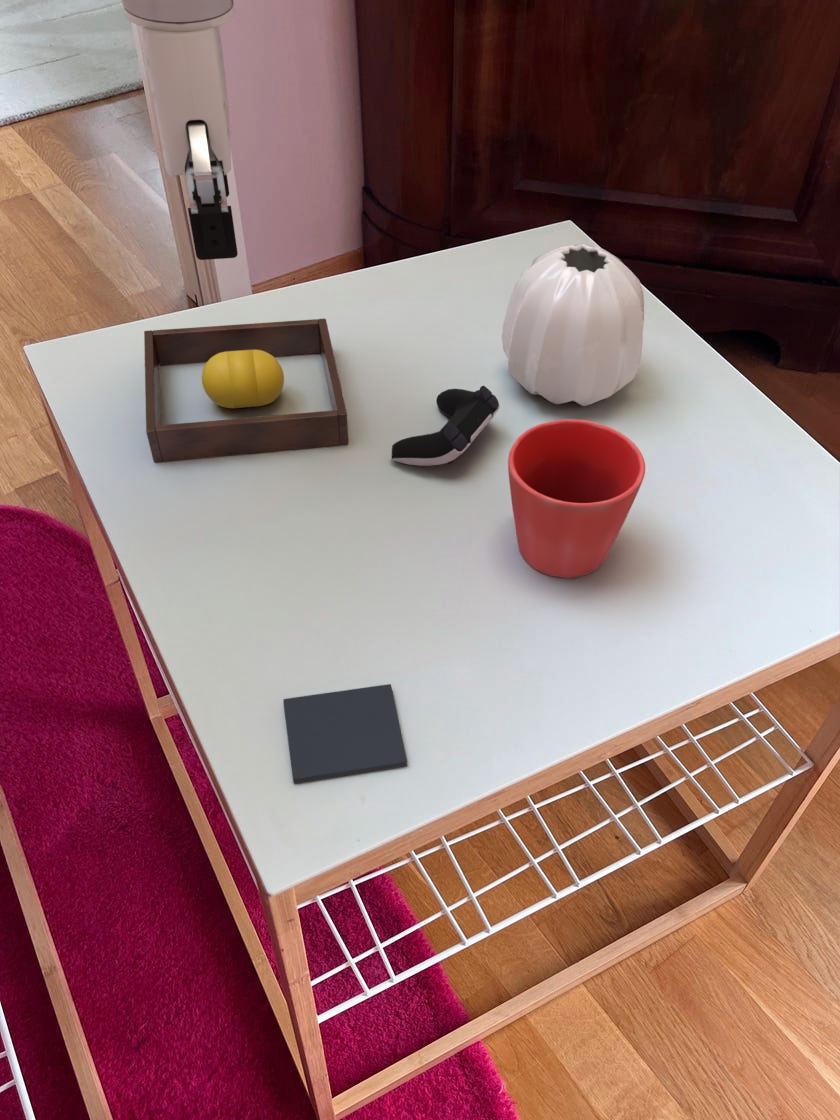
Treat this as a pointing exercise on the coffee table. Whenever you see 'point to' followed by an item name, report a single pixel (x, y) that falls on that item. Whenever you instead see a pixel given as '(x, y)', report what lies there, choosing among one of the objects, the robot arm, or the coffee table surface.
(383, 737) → the mat
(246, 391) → the yellow grooved capsule
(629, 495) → the flower pot
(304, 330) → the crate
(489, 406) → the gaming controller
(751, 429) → the coffee table surface
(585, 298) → the vase
